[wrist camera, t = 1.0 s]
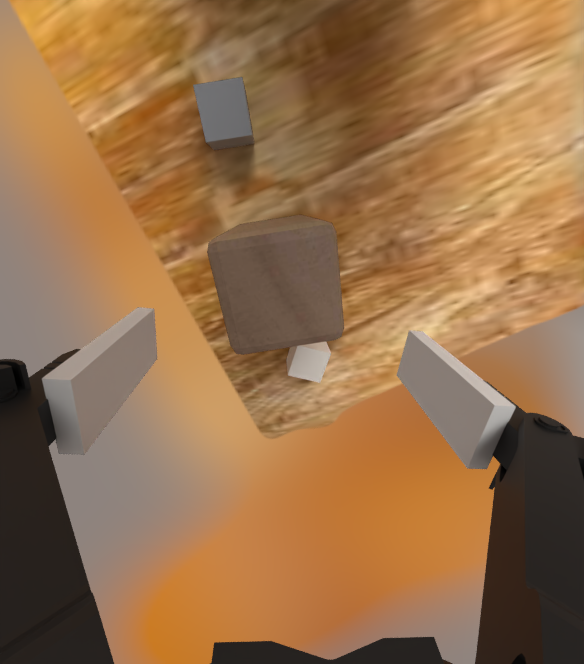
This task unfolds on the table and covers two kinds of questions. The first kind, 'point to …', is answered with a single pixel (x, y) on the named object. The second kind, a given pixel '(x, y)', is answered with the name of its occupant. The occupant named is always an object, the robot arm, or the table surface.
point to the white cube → (308, 361)
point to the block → (278, 283)
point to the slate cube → (224, 113)
